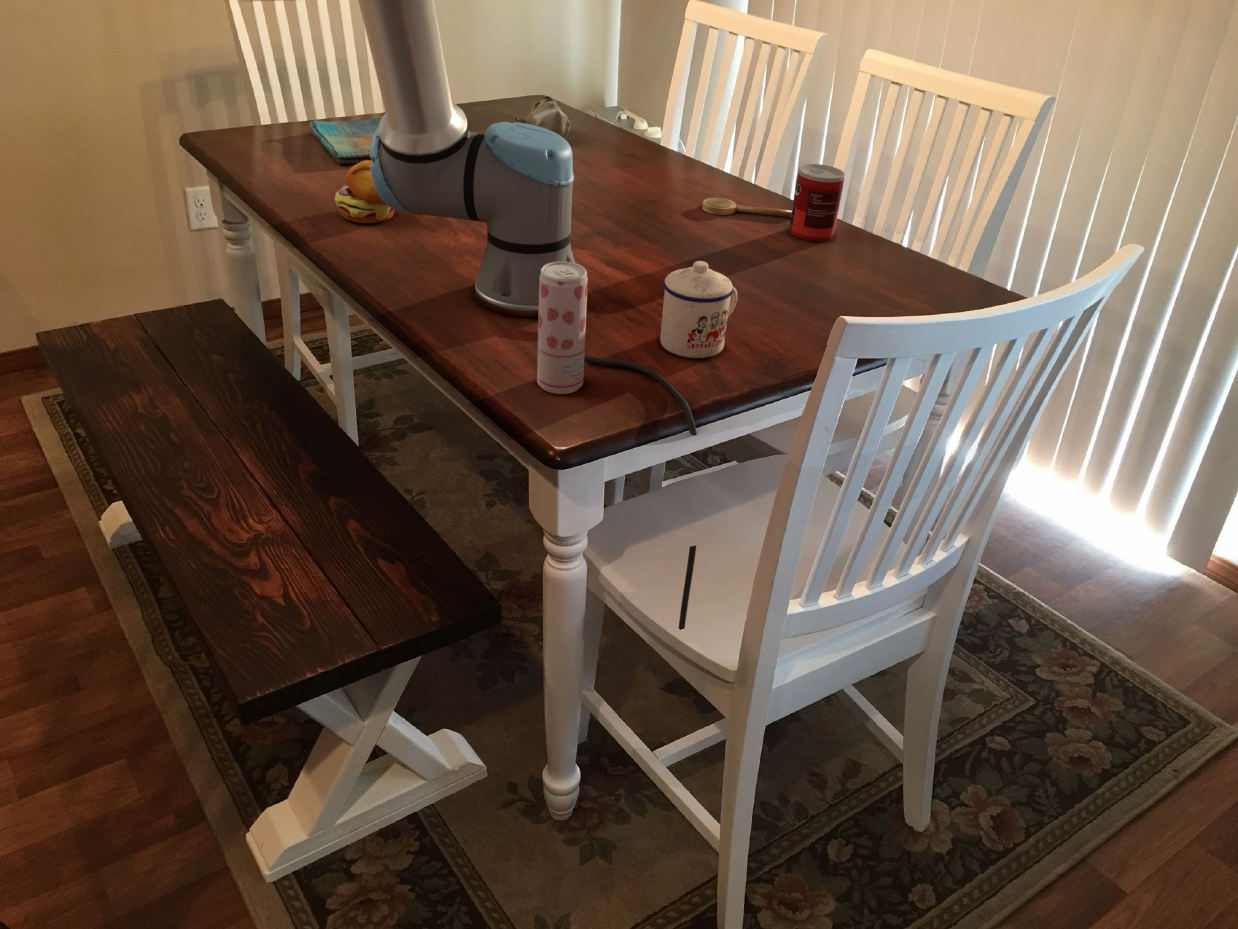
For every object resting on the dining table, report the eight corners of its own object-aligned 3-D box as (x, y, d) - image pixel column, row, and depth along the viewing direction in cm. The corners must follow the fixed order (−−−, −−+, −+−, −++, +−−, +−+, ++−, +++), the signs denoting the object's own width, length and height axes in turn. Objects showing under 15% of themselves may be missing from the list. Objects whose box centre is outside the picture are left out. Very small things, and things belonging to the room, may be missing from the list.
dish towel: (391, 126, 211) (390, 114, 210) (425, 159, 194) (424, 146, 192) (309, 132, 204) (307, 119, 203) (336, 166, 187) (335, 152, 186)
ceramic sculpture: (533, 103, 200) (512, 89, 211) (533, 147, 204) (512, 131, 216) (583, 102, 203) (559, 88, 215) (581, 145, 208) (558, 130, 219)
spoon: (796, 212, 181) (797, 205, 181) (796, 223, 176) (797, 216, 176) (703, 202, 183) (704, 195, 182) (701, 213, 178) (701, 206, 177)
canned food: (805, 222, 177) (816, 160, 171) (842, 236, 172) (854, 173, 166) (779, 231, 172) (789, 168, 166) (816, 245, 168) (827, 181, 162)
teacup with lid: (690, 366, 128) (699, 282, 122) (644, 340, 134) (651, 258, 128) (754, 344, 135) (766, 263, 129) (708, 319, 141) (717, 240, 134)
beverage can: (567, 400, 119) (571, 283, 111) (528, 386, 122) (529, 271, 113) (591, 381, 124) (597, 268, 115) (553, 368, 126) (556, 256, 117)
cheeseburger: (363, 199, 172) (370, 145, 166) (410, 227, 170) (419, 174, 164) (321, 214, 165) (327, 158, 159) (370, 243, 162) (378, 188, 156)
